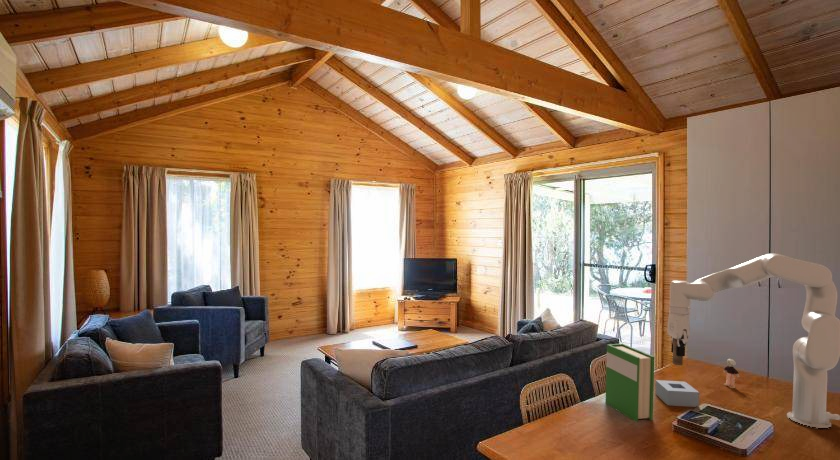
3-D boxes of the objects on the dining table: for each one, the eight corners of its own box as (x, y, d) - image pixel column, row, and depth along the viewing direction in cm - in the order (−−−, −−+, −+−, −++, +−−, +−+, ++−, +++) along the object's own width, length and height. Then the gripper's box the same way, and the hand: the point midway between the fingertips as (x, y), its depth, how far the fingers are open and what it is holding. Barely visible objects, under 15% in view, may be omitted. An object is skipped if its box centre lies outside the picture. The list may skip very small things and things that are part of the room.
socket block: (684, 395, 192) (685, 381, 191) (698, 407, 180) (699, 392, 180) (655, 393, 193) (655, 380, 193) (667, 405, 181) (667, 390, 181)
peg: (680, 362, 187) (681, 334, 187) (684, 365, 184) (685, 336, 183) (670, 362, 188) (672, 334, 187) (674, 365, 184) (676, 336, 184)
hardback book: (652, 420, 167) (654, 356, 167) (635, 421, 166) (637, 357, 165) (621, 401, 184) (622, 343, 184) (605, 402, 183) (606, 344, 182)
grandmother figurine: (719, 384, 205) (719, 357, 205) (724, 383, 207) (725, 356, 207) (736, 390, 198) (737, 362, 198) (742, 389, 200) (743, 361, 200)
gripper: (661, 306, 194) (660, 348, 194) (679, 314, 177) (677, 360, 178) (679, 307, 193) (678, 349, 194) (699, 315, 177) (697, 361, 177)
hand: (678, 353), depth 186 cm, fingers closed on peg, 3 cm apart
